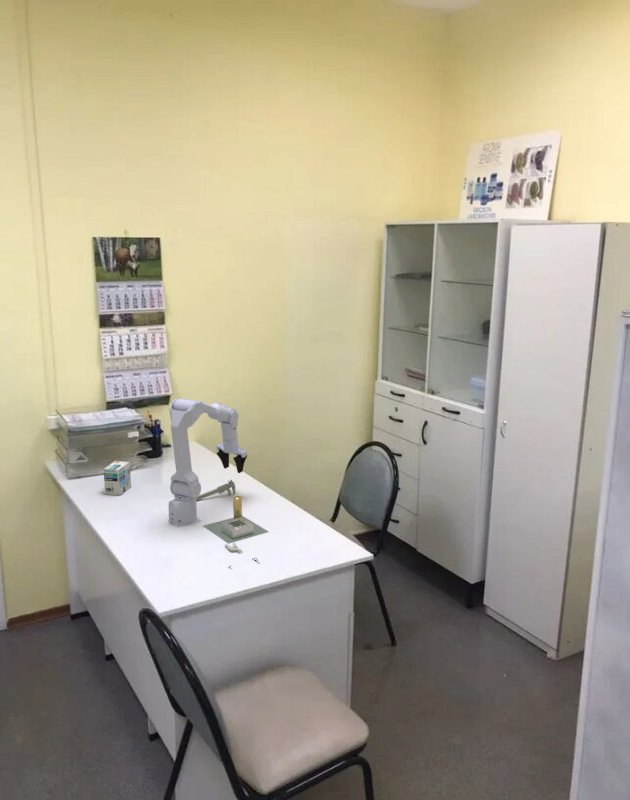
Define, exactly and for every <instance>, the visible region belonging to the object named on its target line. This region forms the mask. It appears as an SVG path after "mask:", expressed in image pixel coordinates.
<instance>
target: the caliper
mask: <svg viewBox="0 0 630 800" xmlns="http://www.w3.org/2000/svg"><path fill="white" fill-rule="evenodd" d="M225 492H227V493H228V495H229V496H231V495H232V493H233V494H234V495H235V494H236V484H235V482H234V481H233V480H232V479H230V480H227V483H224V484H221V485H219V486H217V487H216V488H214V489H211V490H209V491H206V492H204V493H200V494H199V496H198V497H197V498H196V502H197V501H200V500H202V499H205V498H207V497H209V496H213V495H216V494H222V493H225Z"/></svg>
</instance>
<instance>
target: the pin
mask: <svg viewBox="0 0 630 800" xmlns="http://www.w3.org/2000/svg"><path fill="white" fill-rule="evenodd" d="M242 499H243V498H242V496H241V495H237V496H236V495H235V496H233V497H232V500H233V501H232V503H233V505H232V506H233V510H232V511H233V512H232V513H233V518H234V519H236V518H240V517H242V516H243V500H242Z"/></svg>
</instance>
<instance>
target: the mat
mask: <svg viewBox="0 0 630 800" xmlns="http://www.w3.org/2000/svg"><path fill="white" fill-rule="evenodd" d="M242 518H243V519H245V520H247V521H248V522H250V523H252V524H253V529H254V533H253V534H250V535H246V536H243V537H239V538H236V539H232V538H231V537H229V536H228V535H226V534H225V533H223V532H222V531H221V523H222V522H225V521H229V520H233V519H234V517H230V518H227V519H226V518H225V519H223V520H220V521H216V522H212V523H208V524H205V525H202V527H203V528H204V529H206V530H208V531H209V532H210V533H212V534H214V535H215V536H217V538H219V539H221V540H222V541H223V542H225V543H226V544H227V545H229V544H231V543H232V544H233V543H236V542H239V541H242V540H245V539H249V538H253V537H257V536H260V535H263V534H268V533H269V531H268V530H267V529H265V528H263V527H262V526H261V525H259V524H257V523H255V522H254V521H252V520H250V519H249V518H247V517H246V516H244V515H242Z"/></svg>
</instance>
